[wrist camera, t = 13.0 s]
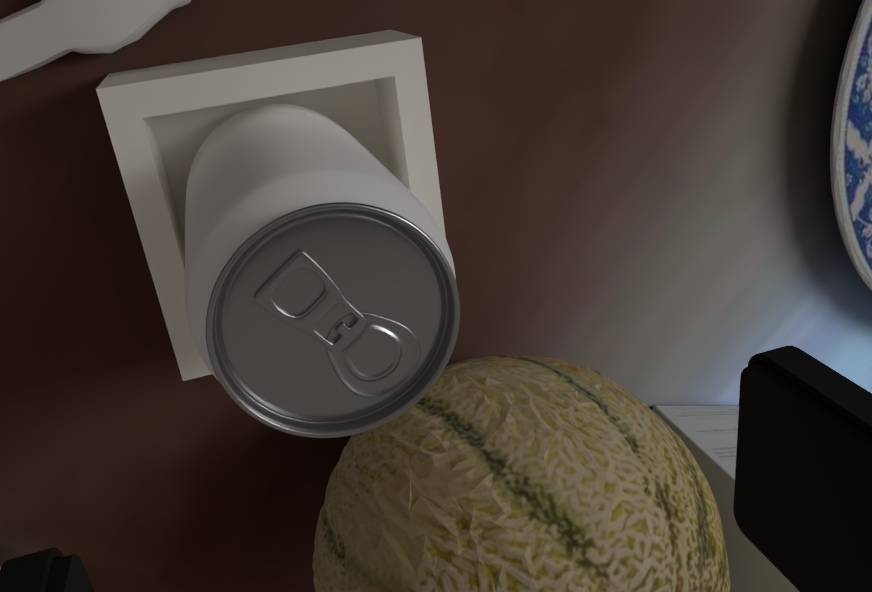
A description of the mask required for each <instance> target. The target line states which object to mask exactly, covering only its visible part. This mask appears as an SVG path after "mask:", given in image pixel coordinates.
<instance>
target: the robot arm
mask: <svg viewBox="0 0 872 592" xmlns="http://www.w3.org/2000/svg"><path fill="white" fill-rule="evenodd" d="M733 511H734V517H735V520H736V523H737V525H738V527H739V529H740V530H741V532H742V533H743V534H744V535H745V536H746V537H747V538H748V540H749V541H750V542H751V543H752V544H753V545H754V546H755V547H756V548H757V549H758V550H759V551H760V552H761V553H762V554H763V555H764V556H765V557H766V558H767V559H768V560H769V561H770V562H771V563H772V564H773V565H774V566H775V567H776V568H777V569H778V570H779V571H780V572H781V573H782V574H783V575H784V576H785V577H786V578H787V579H788V580H789V581H790V582H791V583H792V584H793V585H794V586H795V587H796V588H797V589H798V590H799V592H872V394H871V393H870V392H868V391H867V390H865V389H863V388H862V387H860V386H858V385H857V384H855V383H854V382H852V381H850V380H849V379H847V378H846V377H844V376H842V375H841V374H839V373H838V372H836V371H834V370H833V369H831V368H829V367H828V366H826V365H825V364H823V363H821V362H820V361H818V360H817V359H815V358H813V357H812V356H810V355H809V354H807V353H805V352H804V351H802V350H800V349H799V348H796V347H794V346H785V347H781V348H777V349H774V350H770V351H766V352H763V353H759V354H756V355H754V356H753V357H751V359H750V361H749V363H748V367H746V368H745V369H744V370H743V371H742V373H741V380H740V398H739V416H738V434H737V451H736V469H735V487H734V505H733ZM0 592H94V590H93V588H92V585H91V583H90V580H89V578H88V575H87V573H86V571H85V568H84V566H83V563H82V561H81V559H80V557H79V556H78V555H76V554H73V555H70V556H66V557H64V556H63V554H62V552H61V551H60V550H59V549H58V548H55V547H54V548H50V549H46V550H43V551H39V552H35V553H32V554H28V555H25V556H21V557H17V558H14V559H10V560H7V561H6V562H4V563H3V565H2V567H1V569H0Z"/></svg>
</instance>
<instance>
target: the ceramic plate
mask: <svg viewBox="0 0 872 592" xmlns="http://www.w3.org/2000/svg"><path fill="white" fill-rule="evenodd" d="M830 174H831V190H832V196H833V202H834V209H835V215H836V219H837V222H838V226H839V230H840V233H841V237H842V240H843V242H844V245H845V247H846V250H847V252H848V255H849V257H850V259H851V261H852V263H853V265H854V266H855V268H856V270H857V272H858V274H859V276H860V277H861V278H862V279H863V281H864V282H865V283H866V285H867V286H868V287H869V288H870V290H871V291H872V0H863V1H862V3H861V6H860V8H859V11H858V14H857V17H856V20H855V23H854V25H853V28H852V31H851V34H850V37H849V40H848V44H847V47H846V51H845V55H844V59H843V63H842V66H841V70H840V74H839V80H838V85H837V90H836V96H835V101H834V108H833V117H832V126H831V137H830Z"/></svg>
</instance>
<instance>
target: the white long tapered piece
mask: <svg viewBox="0 0 872 592" xmlns="http://www.w3.org/2000/svg"><path fill="white" fill-rule="evenodd" d="M190 2H191V0H41V1H40V2H38V3H36V4H34V5H32V6H29V7H27V8H25V9H23V10H20V11H18V12H16V13H14V14H11V15H9V16H7V17H5V18H3V19H1V20H0V82H2V81H5V80H8V79H11V78H13V77H16V76H18V75H21V74H23V73H26V72H29V71H31V70H34V69H36V68H39V67H41V66H43V65H45V64H47V63H49V62H51V61H53V60H55V59H57V58H59V57H61V56H63V55H65V54H67V53H69V52H71V51H74V52H79V53H84V54H96V53H113V52H115V51H117V50H118V49H120V48H122V47H123V46H126V45H128V44H130V43H132V42H135V41H137V40H139V39H140V38H141V37H142V36H143V35H144V34H145V33H146V32H147V31H148V30H149V29H151V28H152V27H153V26H154V25H155V24H156V23H157V22H158V21H160V20H161V19H162V18H163V17H164V16H166V15H167V14H168V13H169V12H171V11H172V10H173V9H175V8H178V7H182V6H184V5H186V4H188V3H190Z"/></svg>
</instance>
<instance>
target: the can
mask: <svg viewBox="0 0 872 592" xmlns="http://www.w3.org/2000/svg"><path fill="white" fill-rule="evenodd" d="M185 301H186V312H187V319H188V323H189V327H190V331H191V334H192V338H193V340H194V343H195V346H196V348H197V350H198V352H199V354H200V356H201V358H202V360H203V361H204V363H205V365H206V366H207V367H208V369H209V370H210V372H211V373H212V374H213V375H214V376H215V378H216V379H217V380H218V381H219V382H220V383H221V385H222V387H223V388H224V389H225V391H226V392H227V394H228V395H229V396H230V397H231V398H232V400H233V401H234V402H235V403H236V404H237V405H238V406H239V407H240V408H241V409H243V410H244V411H245V412H246V413H248V414H249V415H250V416H252V417H253V418H255V419H256V420H258V421H259V422H261V423H263V424H265V425H267V426H269V427H271V428H274V429H276V430H279V431H282V432H285V433H288V434H292V435H297V436H302V437H310V438H337V437H345V436H350V435H355V434H359V433H363V432H366V431H369V430H372V429H374V428H377V427H379V426H381V425H384V424H386V423H388V422H390V421H391V420H393V419H395V418H397V417H398V416H400V415H401V414H403V413H404V412H406V411H407V410H409V409H410V408H411V407H412V406H414V405H415V404H416V403H417V402H418V401H419V400H420V399H421V398H422V397H423V396H424V395H425V394H426V393H427V392H428V391H429V390H430V389H431V388H432V386H433V385H434V384H435V383H436V381H437V380H438V378H439V377H440V376H441V374H442V372H443V371H444V369H445V367H446V365H447V363H448V361H449V359H450V357H451V355H452V352H453V349H454V346H455V343H456V340H457V336H458V331H459V324H460V299H459V292H458V287H457V283H456V278H455V269H454V264H453V259H452V255H451V252H450V249H449V246H448V244H447V241H446V239H445V237H444V235H443V233H442V231H441V229H440V228H439V226H438V224H437V223H436V221H435V220H434V218H433V217H432V215H431V214H430V213H429V211H428V210H427V209H426V208H425V207H424V206H423V204H422V203H421V202H420V201H419V200H418V199H417V198H416V197H415V196H414V195H413V194H412V193H411V192H410V191H409V190H408V189H407V188H406V187H405V186H404V185H403V184H402V183H401V182H400V181H399V180H398V179H397V178H396V177H395V176H394V175H393V174H392V173H391V172H390V171H389V170H388V169H387V168H386V167H384V166H383V165H382V164H381V163H380V162H379V161H378V160H377V159H376V158H375V157H374V156H373V155H372V154H371V153H370V152H369V151H368V150H367V149H365V148H364V147H363V146H362V145H361V144H360V143H359V142H358V141H357V140H356V139H355V138H354V137H353V136H351V135H350V134H349V133H348V132H347V131H346V130H345V129H343V128H342V127H341V126H340V125H338V124H337V123H336V122H334V121H333V120H331V119H330V118H328V117H327V116H325V115H323V114H321V113H319V112H316V111H314V110H311V109H308V108H305V107H301V106H296V105H290V104H268V105H261V106H257V107H253V108H250V109H247V110H244V111H242V112H239V113H237V114H235V115H233V116H232V117H230V118H228V119H227V120H225V121H224V122H223V123H221V124H220V125H219V126H218V127H216V128H215V129H214V130H213V131H212V132H211V133H210V134H209V136H208V137H207V138H206V139H205V141H204V142H203V143H202V145H201V146H200V148H199V150H198V151H197V153H196V155H195V157H194V160H193V162H192V165H191V168H190V171H189V175H188V181H187V189H186V211H185Z"/></svg>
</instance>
